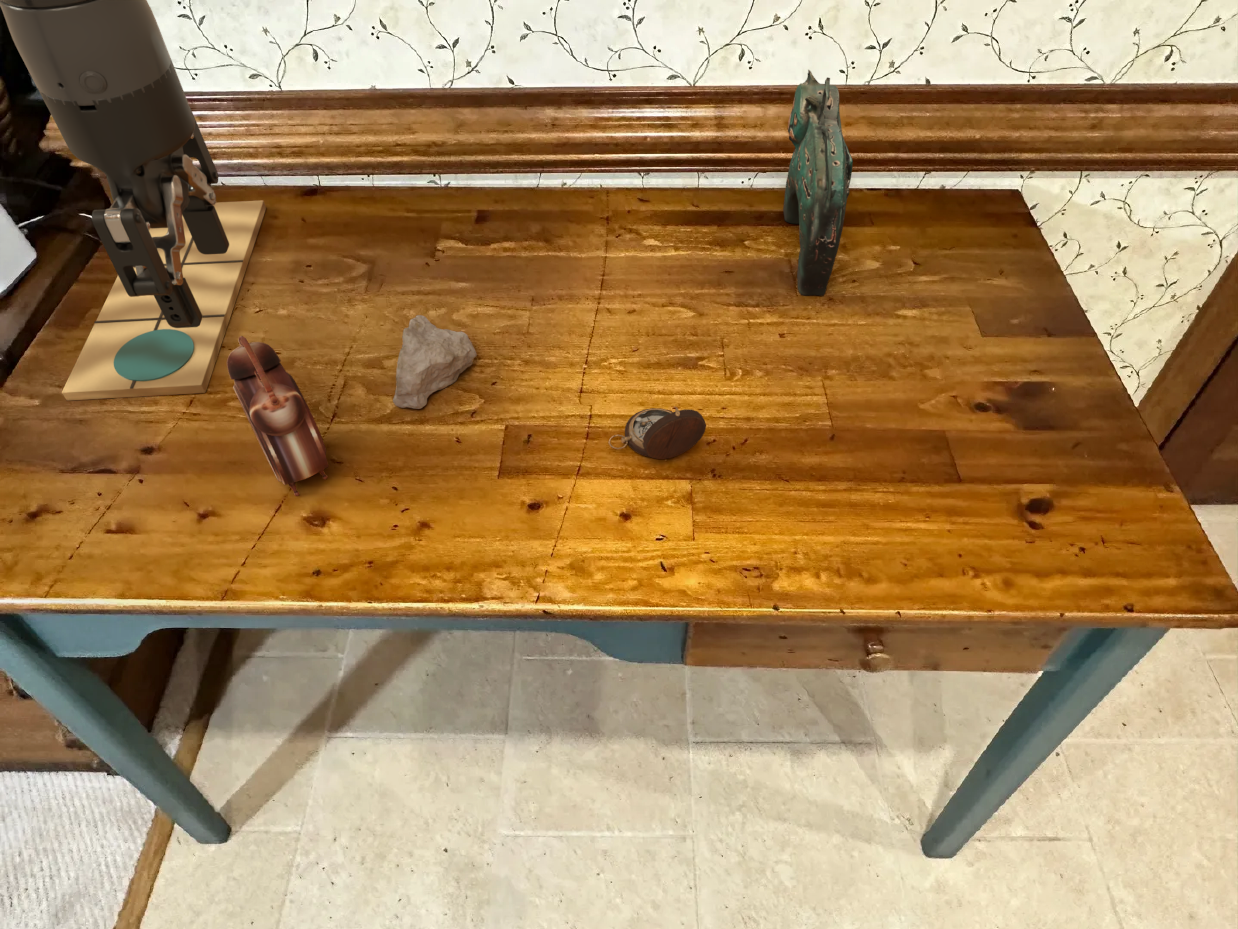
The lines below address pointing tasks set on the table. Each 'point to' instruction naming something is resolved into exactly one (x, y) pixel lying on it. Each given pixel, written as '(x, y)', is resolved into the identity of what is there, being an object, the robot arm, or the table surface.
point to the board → (143, 340)
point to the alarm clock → (277, 413)
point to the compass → (663, 432)
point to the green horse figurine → (817, 181)
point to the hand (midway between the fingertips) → (202, 286)
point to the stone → (429, 361)
